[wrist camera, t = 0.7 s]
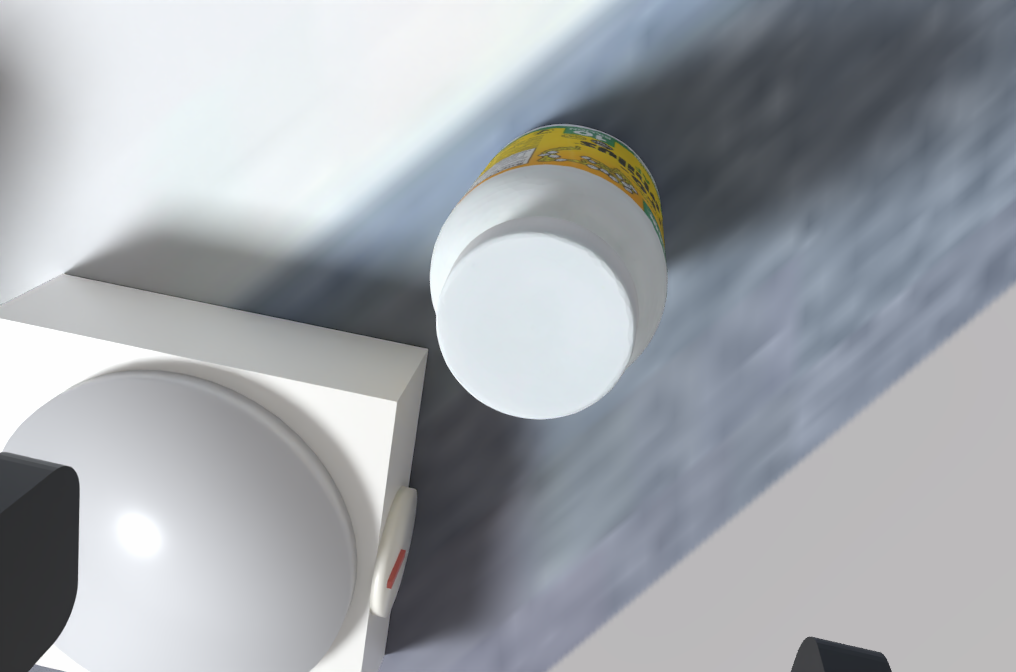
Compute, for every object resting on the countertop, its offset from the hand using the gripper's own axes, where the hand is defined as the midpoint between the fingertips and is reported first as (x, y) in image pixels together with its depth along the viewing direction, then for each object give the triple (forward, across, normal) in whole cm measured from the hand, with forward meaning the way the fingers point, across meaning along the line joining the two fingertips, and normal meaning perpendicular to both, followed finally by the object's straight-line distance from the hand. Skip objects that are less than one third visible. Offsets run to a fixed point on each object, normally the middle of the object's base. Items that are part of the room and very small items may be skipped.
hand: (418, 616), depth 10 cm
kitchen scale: (+19, +9, +10) cm, 24 cm away
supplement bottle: (+19, 0, 0) cm, 19 cm away
